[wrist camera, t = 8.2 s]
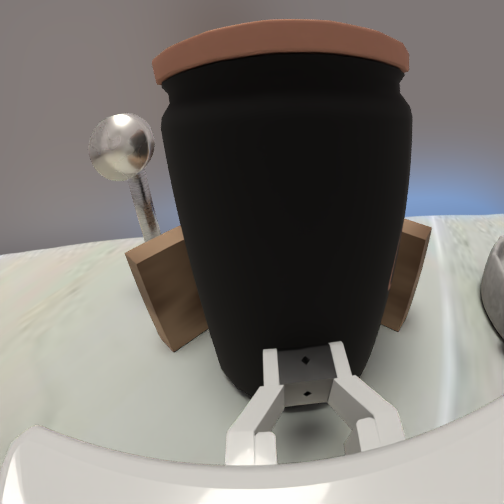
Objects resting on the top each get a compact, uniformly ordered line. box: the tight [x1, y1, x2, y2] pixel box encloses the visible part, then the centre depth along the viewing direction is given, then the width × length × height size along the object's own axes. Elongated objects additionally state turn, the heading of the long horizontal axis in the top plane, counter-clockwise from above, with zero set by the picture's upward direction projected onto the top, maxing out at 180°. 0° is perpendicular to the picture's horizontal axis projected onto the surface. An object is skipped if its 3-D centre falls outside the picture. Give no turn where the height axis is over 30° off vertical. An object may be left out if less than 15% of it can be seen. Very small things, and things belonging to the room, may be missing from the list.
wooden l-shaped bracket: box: [125, 219, 432, 352], centre depth 22 cm, size 20×13×8 cm, turn 90°
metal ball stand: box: [89, 113, 161, 242], centre depth 22 cm, size 5×5×16 cm
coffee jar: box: [152, 19, 412, 405], centre depth 14 cm, size 11×11×18 cm
